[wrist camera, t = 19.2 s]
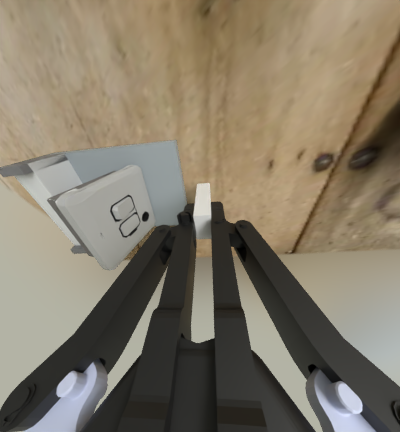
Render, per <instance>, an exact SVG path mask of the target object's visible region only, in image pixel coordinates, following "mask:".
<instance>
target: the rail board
mask: <svg viewBox="0 0 400 432" xmlns="http://www.w3.org/2000/svg"><path fill="white" fill-rule="evenodd" d="M128 165H137V166H139V167H140V168H141V170H142V174H143V177H144V181H145V185H146V188H147V192H148V195H149V199H150V202H151V206H152V209H153V213H154V216H155V220H156V221H155V225H154V226H160V225H178V224H179V223H178V219H177V215H178V214H179V213H180V212H182V211H184V207H185V206H186V205H187V198H186V193H185V187H184V181H183V175H182V170H181V164H180V158H179V152H178V146H177V141H176V140H170V141H160V142H151V143H142V144H132V145H123V146H113V147H104V148H95V149H85V150H76V151H66V152H57V153H52V154H48V155H44V156H41V157H37V158H33V159H29V160H26V161H22V162H18V163H14V164H11V165H7V166H3V167H0V174H1V175H2V176H3V177H7V176H15V178H16V179H17V180H18V181H19V182H20V183H21V184H22V186H23V187H24V188H25V189H26V190H27V191H28V192H29V194H30V195H31V196H32V197H33V198H34V199H35V200H36V202H37V203H38V204H39V205H40V206H41V207H42V209H43V210H44V211H45V212H46V213H47V214H48V215H49V217H50V218H51V219H52V220H53V221H54V222H55V223H56V224H57V226H58V227H59V228H60V229H61V230H62V231H63V232H64V234H65V235H66V236H67V237H68V238H69V239H70V241H71V242H72V243H73V244H74V245H75V246H74V247H73V248H72V249H71V251H72V252H73V253H74V254H75V253H86V251H85V250H84V249H83V247H82V246H81V245H80V243H79V242H78V241H77V240H76V238H75V237H74V236H73V234H72V233H71V232H70V230H69V229H68V228H67V226H66V225H65V224H64V222H63V221H62V220H61V219H60V217H59V216H58V215H57V213H56V212H55V211H54V209H53V208H52V207H51V205H50V204H49V203H48V201H47V199H48V198H50V197H53V196H55V195H57V194H60V193H62V192H64V191H67V190H69V189H72V188H74V187H76V186H79V185H81V184H83V183H86V182H88V181H91V180H93V179H95V178H98V177H100V176H102V175H105V174H107V173H110V172H112V171H118V170H120V169H123V168H124V167H126V166H128ZM49 200H51V199H49ZM54 201H55V200H54ZM60 215H61V214H60Z"/></svg>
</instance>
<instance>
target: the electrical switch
mask: <svg viewBox="0 0 400 432" xmlns="http://www.w3.org/2000/svg"><path fill="white" fill-rule="evenodd" d="M49 199H51V200H49ZM54 200H55V201H54ZM47 201H48V203H49V204H50V205H51V207H52V208H53V209H54V211H55V212H56V213H57V215H58V216H59V217H60V219H61V220H62V221H63V222H64V224H65V225H66V226H67V228H68V229H69V230H70V232H71V233H72V234H73V236H74V237H75V238H76V240H77V241H78V242H79V243H80V245H81V246H82V247H83V249H84V250H85V251H86V253H87V254H88V255H89V256H92V257H95V258H96V260H97V261H98V263H99V264H100V266H101V267H102V268H103V269H106V270H112V269H115V268H116V267H117V266H118V265H119V264H120V263H121V262H122V261H123V259H124V258H125V257H126V256H127V255H128V254H129V253H130V252H131V251H132V250H133V248H134V247H135V246H136V245H137V244H138V243H139V242H140V241H141V240H142V239H143V237H144V236H145V235H146V234H147V233H148V232H149V231H150V230H151V229H152V228H153V226H154V225H155V221H156V220H155V216H154V213H153V209H152V206H151V202H150V199H149V195H148V192H147V188H146V185H145V181H144V177H143V174H142V170H141V168H140V167H139V166H137V165H128V166H126V167H124V168H123V169H120V170H118V171H112V172H110V173H107V174H105V175H102V176H100V177H98V178H95V179H93V180H91V181H88V182H86V183H83V184H81V185H79V186H76V187H74V188H72V189H69V190H67V191H64V192H62V193H60V194H57V195H55V196H53V197H50V198H48V199H47ZM60 214H61V215H60Z"/></svg>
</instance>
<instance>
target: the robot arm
mask: <svg viewBox="0 0 400 432" xmlns="http://www.w3.org/2000/svg"><path fill="white" fill-rule="evenodd" d="M177 219H178V223H179V224H178V225H177V226H174V227H171V228H170V227H169V226H168V225H160V226H158V227H157V228H156V229H155V230H154V231H153V232H152V234H151V235H150V236H149V238H148V239H147V240H146V242H145V243H144V244H143V245H142V247H141V248H140V249H139V251H138V252H137V253H136V254H135V256H134V257H133V258H132V260H131V261H130V262H129V263H128V265H127V266H126V267H125V269H124V270H123V271H122V273H121V274H120V275H119V276H118V278H117V279H116V280H115V282H114V283H113V284H112V285H111V287H110V288H109V289H108V291H107V292H106V293H105V295H104V296H103V297H102V298H101V300H100V301H99V302H98V303H97V305H96V306H95V307H94V309H93V310H92V311H91V313H90V314H89V315H88V316H87V318H86V319H85V320H84V322H83V323H82V324H81V326H80V327H79V328H78V329H77V331H76V332H75V333H74V335H72V336H71V337H70V338H69V339H68V340H67V341H66V342H65V343H64V344H63V345H61V346H60V347H59V348H58V349H57V350H56V351H55V352H54V353H53V354H52V355H51V356H49V357H48V358H47V359H46V360H45V361H44V362H43V363H42V364H41V365H40V366H39V367H37V368H36V369H35V370H34V371H33V372H32V373H31V374H30V375H29V376H28V377H27V378H25V380H23V381H22V382H21V383H20V384H19V385H18V386H17V387H16V388H15V389H14V391H12V393H11V394H10V395H9V397H8V398H7V400H6V401H5V402H4V404H3V406H2V408H1V410H0V432H15V431H24V432H316V431H315V430H314V429H313V427H312V426H311V425H310V423H309V422H308V421H307V420H306V418H305V417H304V416H303V414H302V413H301V411H300V410H299V409H298V407H297V406H296V405H295V403H294V402H293V401H292V399H291V398H290V397H289V395H288V394H287V393H286V391H285V390H284V389H283V387H282V386H281V385H280V383H279V382H278V381H277V379H276V378H275V377H274V375H273V374H272V373H271V371H270V370H269V369H268V367H267V366H266V365H265V363H264V362H263V361H262V359H260V357H259V356H258V355H257V354H256V353H255V352H254V351H253V350H251V346H250V341H249V336H248V330H247V324H246V319H245V314H244V311H243V309H242V307H241V302H240V296H239V290H238V285H237V279H236V273H235V268H234V262H233V256H232V251H231V247H234V249H235V251H236V253H237V255H238V257H239V259H240V260H241V262H242V264H243V266H244V268H245V270H246V272H247V274H248V275H249V278H250V280H251V281H252V283H253V285H254V287H255V289H256V291H257V293H258V295H259V297H260V298H261V300H262V302H263V304H264V306H265V308H266V310H267V311H268V314H269V316H270V318H271V319H272V321H273V323H274V325H275V327H276V329H277V331H278V332H279V334H280V337H281V338H282V340H283V342H284V344H285V346H286V348H287V350H288V351H289V353H290V355H291V357H292V358H293V360H294V362H295V363H296V365H297V366H298V368H299V369H300V371H301V372H302V374H303V375H304V376H305V378H306V379H307V382H306V394H307V398H308V401H309V403H310V405H311V407H312V409H313V411H314V412H315V414H316V416H317V418H318V420H319V422H320V425H321V427H322V430H323V432H400V387H399V386H398V385H397V384H396V383H395V382H394V381H392V380H391V379H390V378H389V377H388V376H386V375H385V374H384V373H383V372H382V371H381V370H380V369H378V368H377V367H376V366H375V365H374V364H373V363H372V362H370V361H369V360H368V359H367V358H366V357H365V356H363V355H362V354H361V353H360V352H359V351H358V350H356V349H355V348H354V347H353V346H352V345H351V344H350V343H348V342H347V341H346V340H345V339H344V338H343V337H342V336H341V334H340V333H339V332H338V331H337V330H336V328H335V327H334V326H333V325H332V323H331V322H330V321H329V320H328V318H327V317H326V316H325V315H324V313H323V312H322V311H321V310H320V308H319V307H318V306H317V305H316V304H315V302H314V301H313V300H312V298H311V297H310V296H309V295H308V293H307V292H306V291H305V290H304V289H303V287H302V286H301V285H300V284H299V282H298V281H297V280H296V279H295V277H294V276H293V275H292V274H291V272H290V271H289V270H288V269H287V267H286V266H285V265H284V264H283V262H281V260H280V259H279V257H278V256H277V255H276V254H275V253H274V251H273V250H272V249H271V248H270V246H269V245H268V244H267V243H266V241H265V240H264V239H263V238H262V236H261V235H260V234H259V233H258V231H257V230H256V229H255V228H254V226H253V225H252V224H251V223H250V222H248V221H245V220H240V221H237V222H236V224H233V223H229V222H228V221H226V219H225V216H224V210H223V204H222V203H221V202H211V197H210V183H203V184H197V190H196V198H195V204H187V205H186V206H185V207H184V211H182V212H180V213H179V214H178V215H177ZM196 238H197V239H212V267H213V295H214V330H215V331H214V332H215V338H214V339H211V340H208V341H205V342H201V343H195V342H192V341H191V315H192V301H193V286H194V273H195V259H196V245H197V243H196ZM168 264H169V265H168ZM167 266H168V269H167V273H166V277H165V281H164V285H163V289H162V294H161V298H160V302H159V305H158V307H157V308H156V309H155V310H154V311H153V313H152V316H151V320H150V323H149V327H148V331H147V335H146V338H145V342H144V346H143V350H142V354H141V355H140V356H139V357H138V358H137V360H136V361H135V362H134V363H133V365H132V366H131V367H130V368H129V370H128V371H127V372H126V374H125V375H124V376H123V377H122V379H121V380H120V381H119V382H118V384H117V385H116V386H115V387H114V389H113V390H112V391H111V392H110V394H109V395H108V396H107V398H106V399H105V400H104V401H103V403H102V404H101V405H100V406H99V408H98V409H97V410H96V411H95V408H96V405H97V404H98V402H99V400H100V399H101V398H102V397H103V396H104V395H105V392H106V390H107V375H108V374H109V372H110V371H111V369H112V368H113V367H114V365H115V364H116V362H117V361H118V359H119V358H120V356H121V354H122V352H123V350H124V349H125V347H126V345H127V343H128V342H129V340H130V338H131V336H132V334H133V332H134V330H135V328H136V326H137V324H138V322H139V320H140V318H141V316H142V315H143V313H144V311H145V309H146V307H147V305H148V303H149V301H150V299H151V297H152V295H153V293H154V291H155V289H156V287H157V286H158V284H159V282H160V280H161V278H162V276H163V273H164V272H165V270H166V268H167ZM94 411H95V413H94ZM93 413H94V414H93Z"/></svg>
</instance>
